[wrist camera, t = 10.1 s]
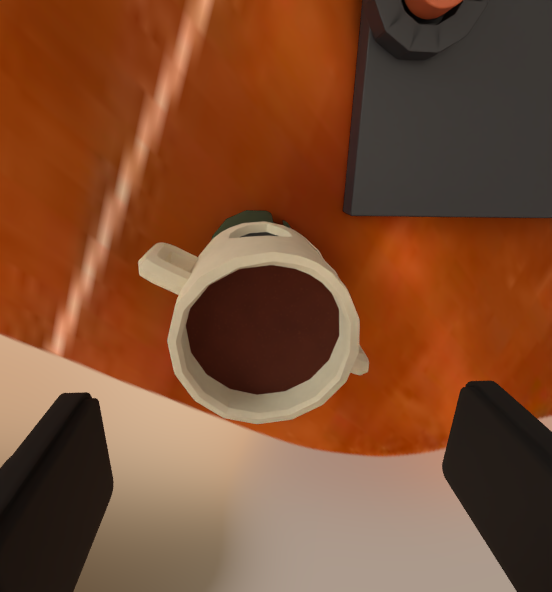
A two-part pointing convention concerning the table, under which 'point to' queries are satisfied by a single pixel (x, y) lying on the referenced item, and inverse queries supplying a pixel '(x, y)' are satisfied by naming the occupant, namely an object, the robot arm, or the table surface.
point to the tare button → (430, 7)
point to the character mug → (257, 321)
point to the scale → (452, 112)
